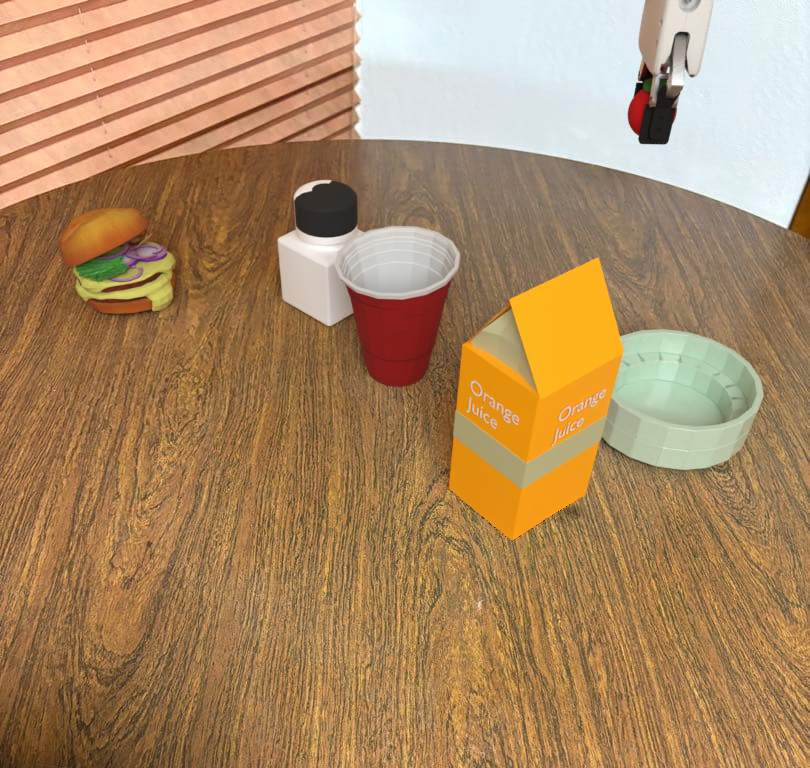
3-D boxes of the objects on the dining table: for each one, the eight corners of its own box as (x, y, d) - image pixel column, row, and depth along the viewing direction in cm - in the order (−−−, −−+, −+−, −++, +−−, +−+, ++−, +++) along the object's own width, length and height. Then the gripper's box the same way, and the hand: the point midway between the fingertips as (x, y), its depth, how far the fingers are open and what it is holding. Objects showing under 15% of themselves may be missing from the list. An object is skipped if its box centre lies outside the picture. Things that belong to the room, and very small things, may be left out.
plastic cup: (320, 352, 84) (313, 238, 75) (418, 325, 87) (423, 213, 78) (368, 418, 77) (367, 301, 68) (471, 386, 81) (484, 271, 72)
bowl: (645, 354, 85) (658, 311, 81) (773, 424, 78) (793, 380, 75) (554, 417, 78) (563, 372, 74) (686, 499, 72) (704, 454, 68)
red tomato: (641, 122, 98) (652, 70, 94) (679, 137, 96) (692, 83, 92) (613, 135, 96) (624, 82, 92) (652, 150, 93) (664, 96, 89)
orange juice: (446, 489, 71) (466, 274, 57) (521, 445, 75) (558, 233, 60) (512, 544, 68) (553, 328, 53) (588, 495, 71) (645, 281, 57)
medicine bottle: (377, 300, 90) (378, 189, 81) (329, 328, 86) (324, 215, 77) (329, 275, 93) (325, 165, 84) (281, 301, 89) (271, 189, 80)
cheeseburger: (136, 335, 84) (93, 237, 78) (67, 323, 90) (21, 231, 83) (203, 287, 90) (168, 192, 84) (135, 279, 96) (97, 189, 89)
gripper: (752, -37, 76) (697, 167, 90) (709, -85, 88) (667, 102, 101) (667, -38, 76) (626, 165, 90) (636, -86, 88) (603, 101, 101)
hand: (648, 130), depth 95 cm, fingers closed on red tomato, 5 cm apart
